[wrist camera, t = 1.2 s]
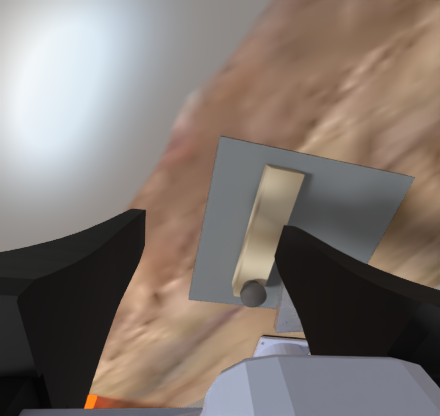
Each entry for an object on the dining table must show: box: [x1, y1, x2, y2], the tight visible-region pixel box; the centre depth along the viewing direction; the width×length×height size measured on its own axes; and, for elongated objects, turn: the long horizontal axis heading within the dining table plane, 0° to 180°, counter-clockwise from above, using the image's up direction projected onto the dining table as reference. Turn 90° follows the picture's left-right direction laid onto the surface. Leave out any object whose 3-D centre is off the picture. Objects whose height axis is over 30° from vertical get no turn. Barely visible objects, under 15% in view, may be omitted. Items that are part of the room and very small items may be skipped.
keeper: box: [274, 280, 304, 333], centre depth 24 cm, size 4×7×4 cm, turn 178°
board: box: [189, 136, 415, 309], centre depth 24 cm, size 19×20×1 cm
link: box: [232, 164, 305, 307], centre depth 21 cm, size 14×3×4 cm, turn 168°
